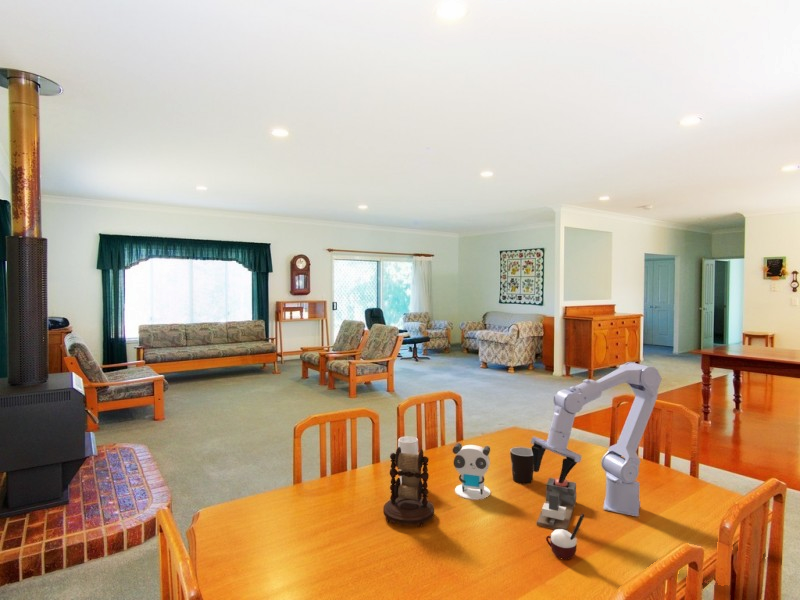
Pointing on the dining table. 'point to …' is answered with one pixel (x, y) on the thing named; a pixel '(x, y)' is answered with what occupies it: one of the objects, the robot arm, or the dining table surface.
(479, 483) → the panda figurine
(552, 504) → the carriage
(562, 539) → the cocoa
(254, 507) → the dining table surface
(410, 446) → the drinking glass
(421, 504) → the dark brown wooden stand
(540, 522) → the rail board
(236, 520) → the dining table surface
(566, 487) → the button
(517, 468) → the coffee mug
